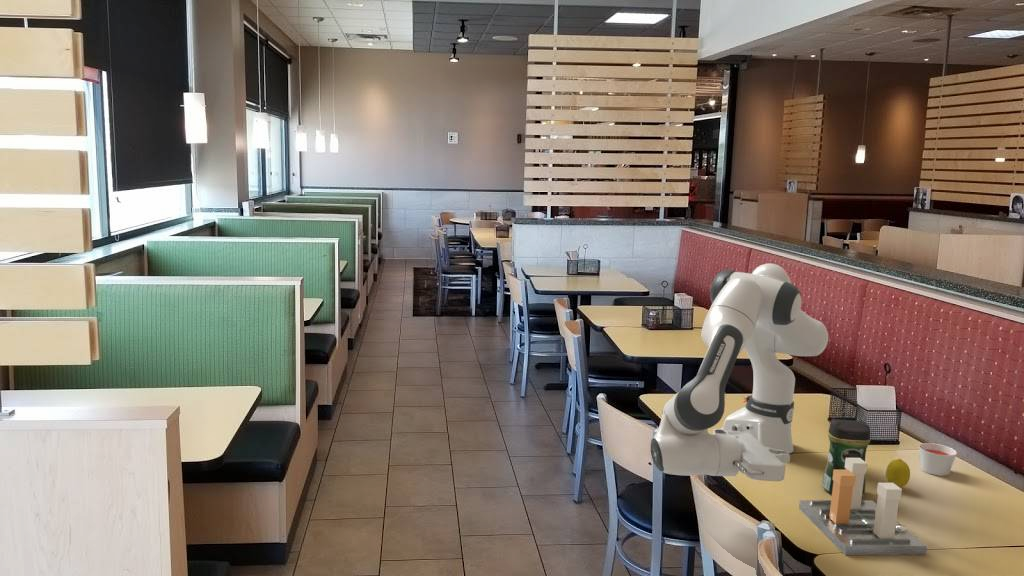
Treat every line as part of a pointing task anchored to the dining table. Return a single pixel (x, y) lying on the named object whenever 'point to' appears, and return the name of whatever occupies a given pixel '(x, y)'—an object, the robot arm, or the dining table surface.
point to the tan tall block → (841, 495)
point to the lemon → (898, 473)
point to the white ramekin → (936, 458)
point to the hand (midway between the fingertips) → (787, 456)
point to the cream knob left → (858, 470)
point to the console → (861, 531)
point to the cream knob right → (886, 510)
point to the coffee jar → (845, 447)
